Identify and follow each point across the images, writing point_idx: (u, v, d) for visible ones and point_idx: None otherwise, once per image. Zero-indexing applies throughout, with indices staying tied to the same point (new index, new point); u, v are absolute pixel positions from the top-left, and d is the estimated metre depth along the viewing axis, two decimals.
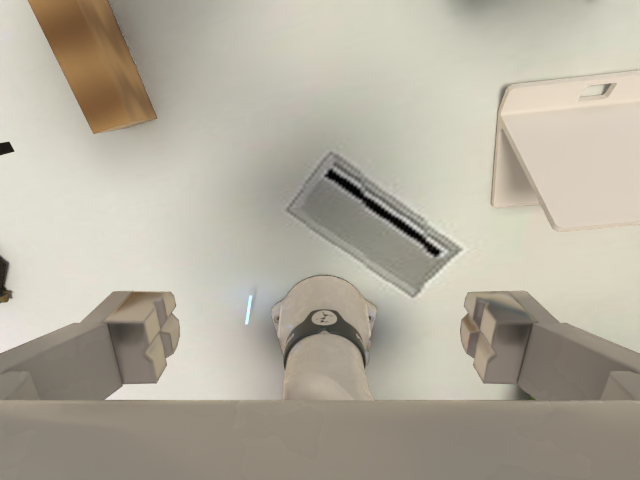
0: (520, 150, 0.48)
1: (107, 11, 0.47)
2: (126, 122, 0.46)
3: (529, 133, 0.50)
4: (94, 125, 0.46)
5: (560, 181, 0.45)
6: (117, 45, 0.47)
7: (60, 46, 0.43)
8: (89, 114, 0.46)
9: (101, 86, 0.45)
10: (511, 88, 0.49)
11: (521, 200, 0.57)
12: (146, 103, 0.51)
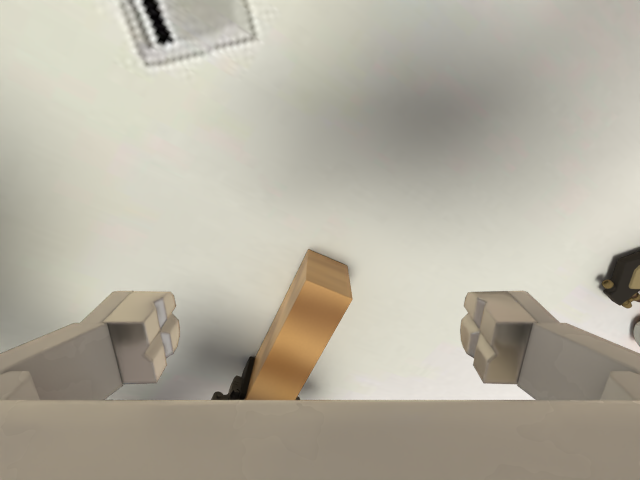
0: None
1: (265, 341, 0.48)
2: (310, 283, 0.37)
3: None
4: (343, 303, 0.38)
5: None
6: (276, 322, 0.45)
7: (303, 365, 0.41)
8: (337, 313, 0.39)
9: (301, 321, 0.39)
10: None
11: None
12: (300, 268, 0.44)
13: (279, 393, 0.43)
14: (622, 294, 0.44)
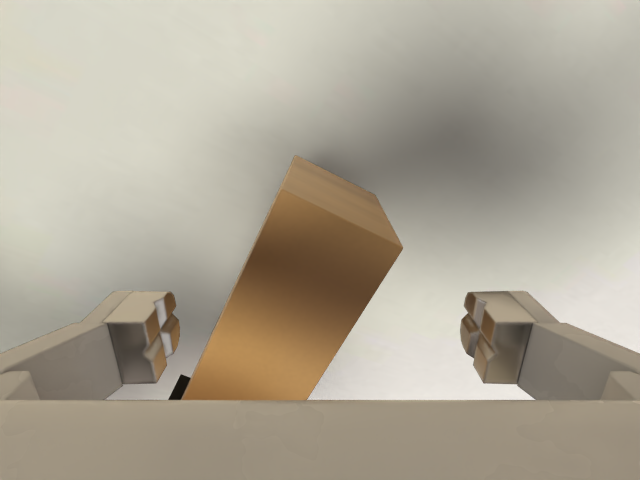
0: None
1: None
2: (294, 199, 0.14)
3: None
4: (377, 259, 0.15)
5: None
6: None
7: None
8: (360, 286, 0.15)
9: (268, 304, 0.15)
10: None
11: None
12: None
13: None
14: None
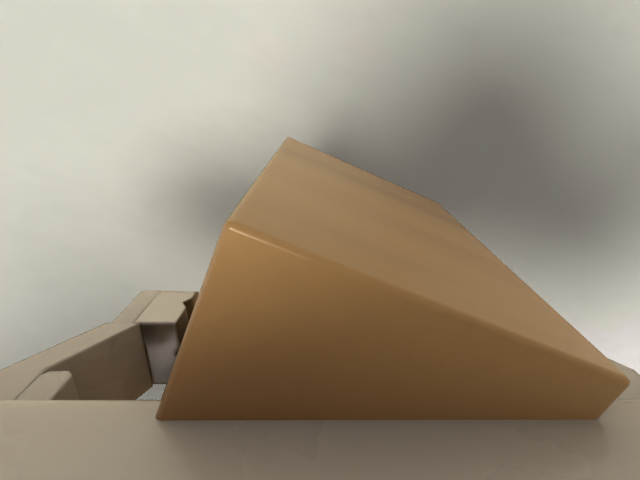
0: None
1: None
2: (274, 253, 0.04)
3: None
4: (546, 418, 0.05)
5: None
6: None
7: None
8: None
9: None
10: None
11: None
12: None
13: None
14: None
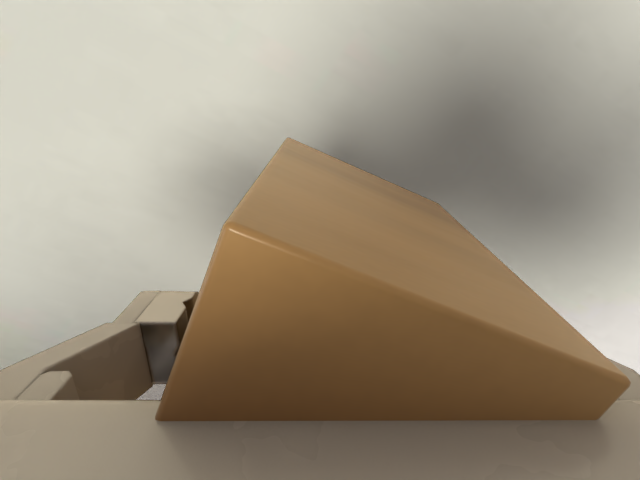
0: None
1: None
2: (274, 254, 0.04)
3: None
4: (546, 418, 0.05)
5: None
6: None
7: None
8: None
9: None
10: None
11: None
12: None
13: None
14: None
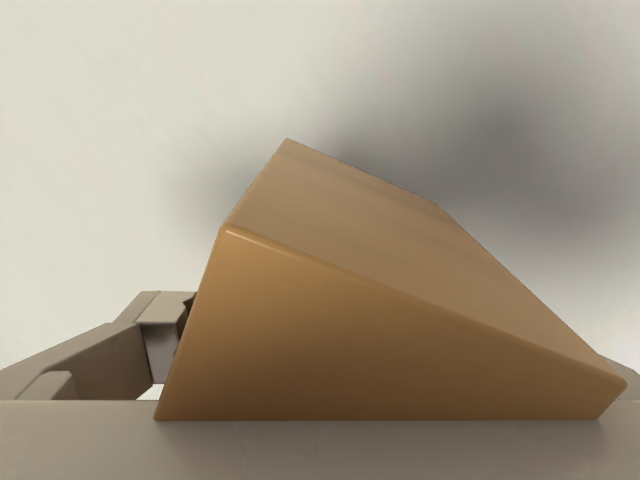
0: None
1: None
2: (271, 256, 0.04)
3: None
4: None
5: None
6: None
7: None
8: None
9: None
10: None
11: None
12: None
13: None
14: None
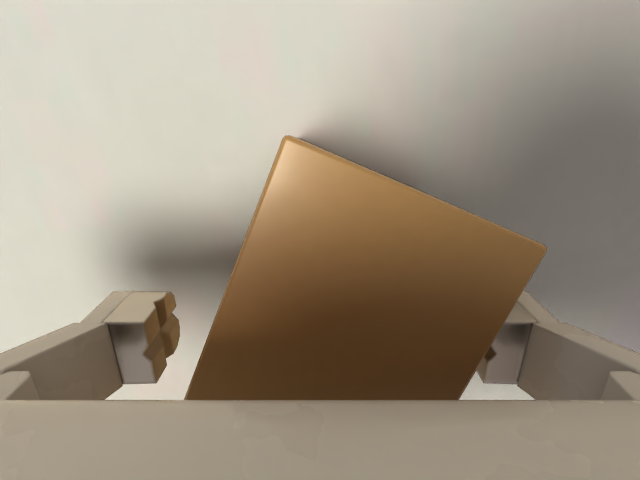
0: None
1: None
2: (314, 156, 0.06)
3: None
4: (494, 278, 0.07)
5: None
6: None
7: None
8: (461, 336, 0.07)
9: (272, 390, 0.07)
10: None
11: None
12: None
13: None
14: None
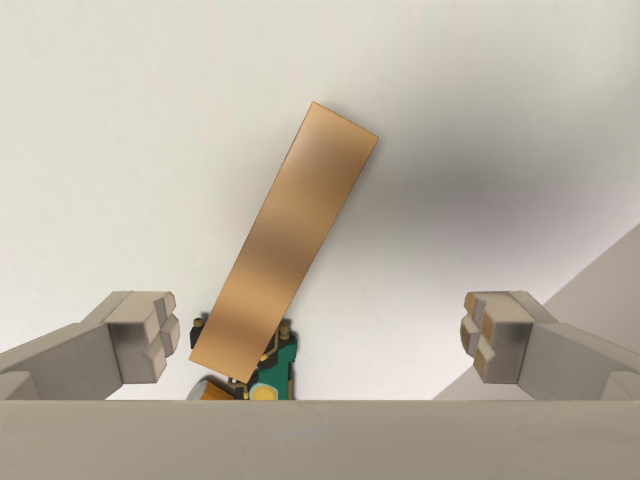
0: None
1: None
2: (319, 106, 0.25)
3: None
4: (364, 144, 0.26)
5: None
6: None
7: (302, 249, 0.28)
8: (355, 161, 0.26)
9: (302, 173, 0.27)
10: None
11: None
12: None
13: (263, 297, 0.29)
14: None
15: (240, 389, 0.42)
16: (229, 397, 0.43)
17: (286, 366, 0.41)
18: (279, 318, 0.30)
